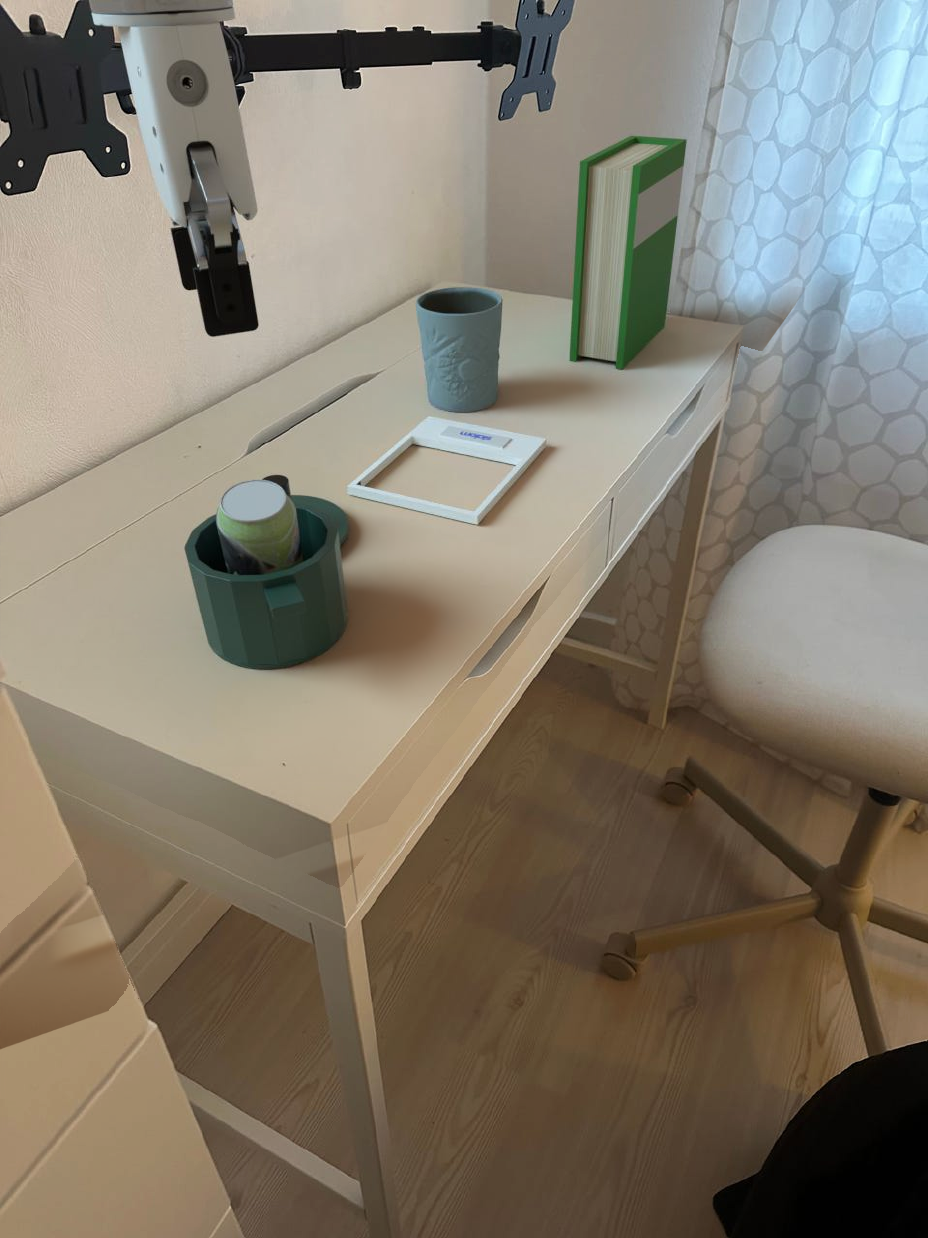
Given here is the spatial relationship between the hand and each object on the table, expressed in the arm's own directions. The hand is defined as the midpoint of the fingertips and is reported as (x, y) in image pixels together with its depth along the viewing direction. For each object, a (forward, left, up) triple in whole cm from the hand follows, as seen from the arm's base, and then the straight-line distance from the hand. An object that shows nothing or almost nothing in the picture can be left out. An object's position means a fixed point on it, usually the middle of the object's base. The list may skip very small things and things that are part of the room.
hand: (219, 307), depth 59 cm
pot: (0, 0, -26) cm, 26 cm away
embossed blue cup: (+31, +36, -26) cm, 54 cm away
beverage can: (0, +1, -26) cm, 26 cm away
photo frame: (+23, +19, -26) cm, 40 cm away
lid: (+3, +13, -26) cm, 29 cm away
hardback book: (+58, +44, -26) cm, 77 cm away
